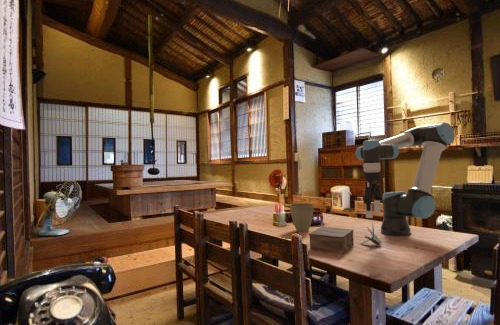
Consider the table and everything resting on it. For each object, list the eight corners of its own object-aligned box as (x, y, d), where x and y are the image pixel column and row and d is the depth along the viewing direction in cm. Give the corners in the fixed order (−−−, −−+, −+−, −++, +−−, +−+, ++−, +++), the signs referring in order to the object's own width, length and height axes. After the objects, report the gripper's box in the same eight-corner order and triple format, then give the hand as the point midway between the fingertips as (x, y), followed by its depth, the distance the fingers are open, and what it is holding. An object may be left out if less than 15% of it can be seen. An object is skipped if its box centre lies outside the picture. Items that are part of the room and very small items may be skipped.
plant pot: (294, 234, 172) (293, 207, 172) (287, 229, 187) (286, 204, 187) (319, 232, 174) (317, 205, 174) (310, 227, 189) (309, 202, 189)
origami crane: (391, 234, 141) (374, 219, 145) (380, 246, 136) (363, 230, 139) (379, 244, 149) (363, 229, 153) (368, 256, 144) (352, 240, 147)
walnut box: (322, 241, 155) (322, 226, 155) (354, 245, 145) (353, 229, 145) (309, 250, 142) (308, 233, 142) (343, 254, 132) (342, 237, 132)
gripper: (371, 170, 155) (373, 211, 154) (355, 172, 135) (357, 219, 135) (386, 170, 150) (388, 212, 150) (372, 172, 130) (374, 220, 130)
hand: (373, 215), depth 142 cm, fingers open, 13 cm apart
